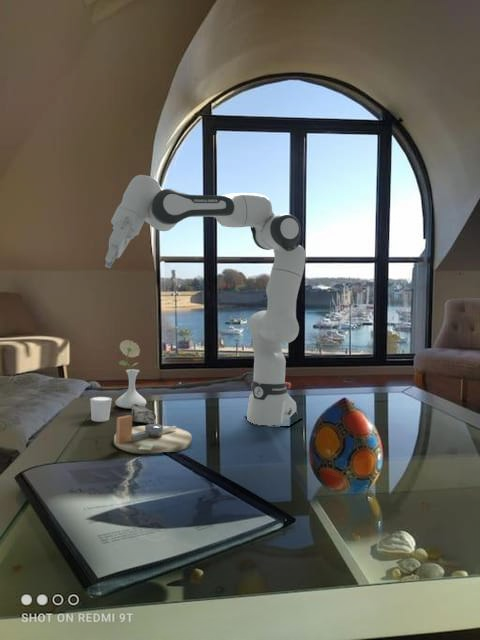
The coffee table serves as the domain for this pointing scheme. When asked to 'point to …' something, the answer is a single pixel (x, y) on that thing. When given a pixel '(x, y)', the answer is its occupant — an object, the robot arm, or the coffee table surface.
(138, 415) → the mineral rock
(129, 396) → the flower in vase
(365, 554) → the coffee table surface
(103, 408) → the white cylinder
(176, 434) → the stand
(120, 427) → the grey pivot bar
